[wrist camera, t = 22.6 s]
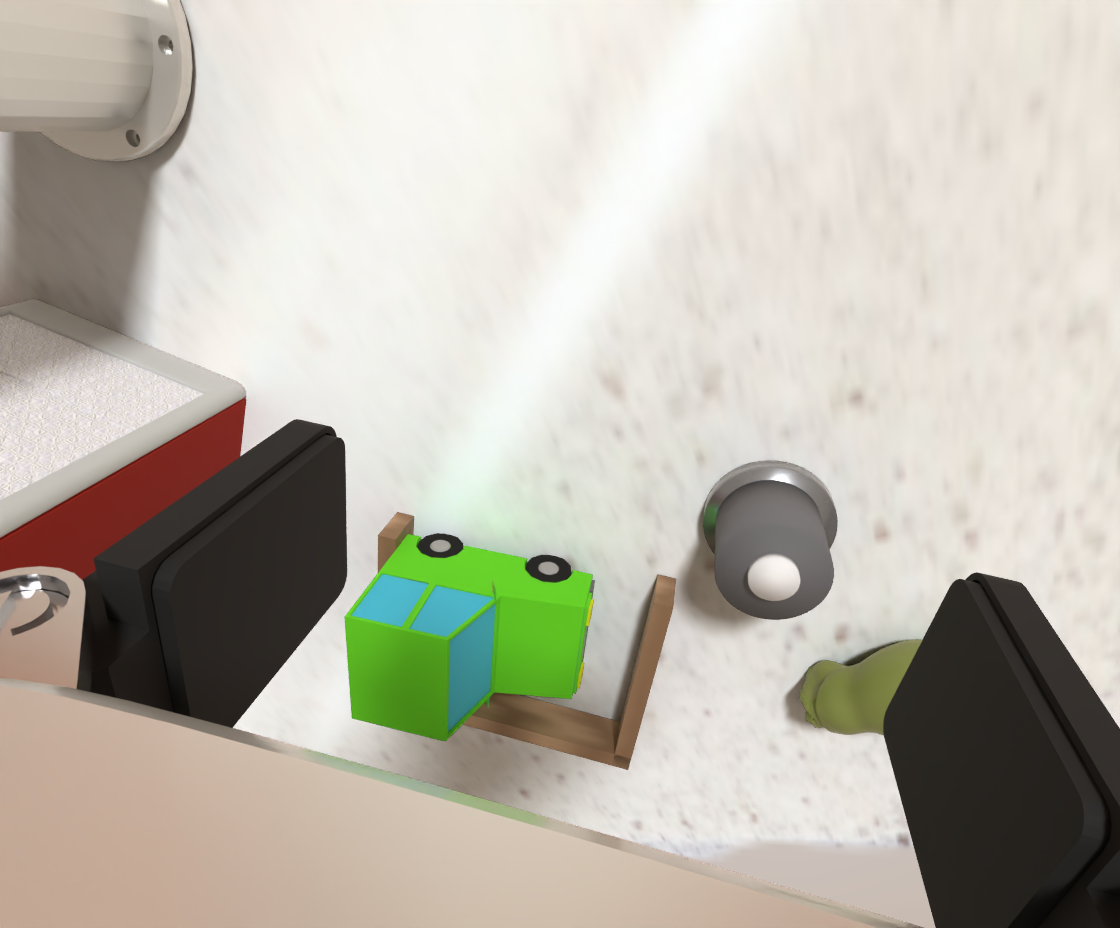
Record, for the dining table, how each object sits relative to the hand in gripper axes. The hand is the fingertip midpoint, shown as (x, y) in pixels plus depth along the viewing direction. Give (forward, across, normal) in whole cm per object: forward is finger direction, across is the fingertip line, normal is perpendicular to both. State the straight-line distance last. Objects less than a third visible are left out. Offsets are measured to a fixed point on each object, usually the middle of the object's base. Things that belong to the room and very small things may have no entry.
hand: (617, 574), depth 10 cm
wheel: (+27, -8, +14) cm, 32 cm away
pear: (+29, -18, +23) cm, 41 cm away
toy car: (+29, +8, +25) cm, 39 cm away
